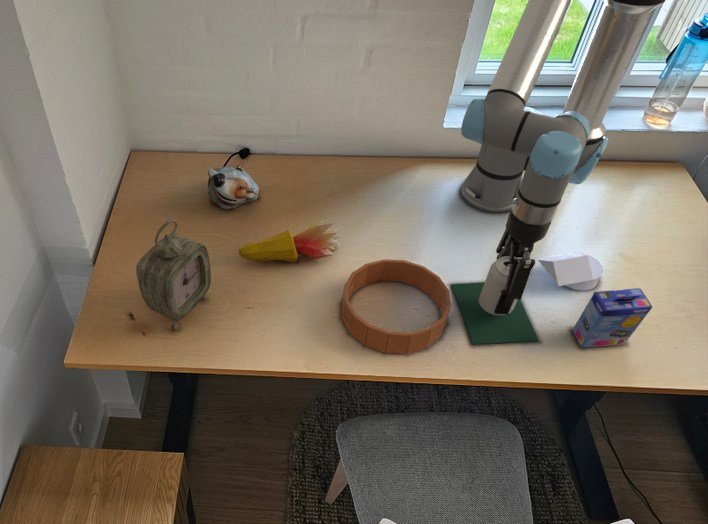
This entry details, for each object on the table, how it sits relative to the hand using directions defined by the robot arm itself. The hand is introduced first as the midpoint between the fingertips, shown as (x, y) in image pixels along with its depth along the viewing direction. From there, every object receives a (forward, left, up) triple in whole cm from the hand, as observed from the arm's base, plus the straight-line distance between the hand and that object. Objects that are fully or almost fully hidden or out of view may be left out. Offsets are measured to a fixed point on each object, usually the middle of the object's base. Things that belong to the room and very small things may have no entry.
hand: (498, 298), depth 130 cm
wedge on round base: (-12, +19, -4) cm, 23 cm away
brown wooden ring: (+2, -22, -4) cm, 23 cm away
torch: (-16, -46, -5) cm, 49 cm away
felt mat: (0, 0, -4) cm, 4 cm away
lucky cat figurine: (-37, -62, -4) cm, 72 cm away
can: (0, 0, -2) cm, 2 cm away
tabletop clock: (+4, -70, -5) cm, 70 cm away
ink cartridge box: (+6, +21, -4) cm, 22 cm away
